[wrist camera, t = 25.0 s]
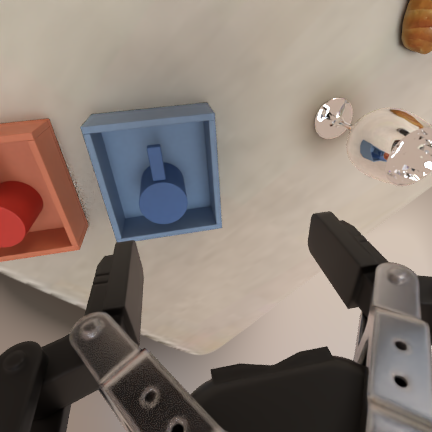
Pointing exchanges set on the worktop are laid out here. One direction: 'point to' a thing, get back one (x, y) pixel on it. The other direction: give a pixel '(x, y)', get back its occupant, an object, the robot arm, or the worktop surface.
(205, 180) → the blue bin
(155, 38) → the worktop surface
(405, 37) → the pastry
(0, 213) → the red scoop
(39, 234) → the red bin
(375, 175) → the wineglass
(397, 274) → the robot arm
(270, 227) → the worktop surface
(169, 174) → the blue scoop
